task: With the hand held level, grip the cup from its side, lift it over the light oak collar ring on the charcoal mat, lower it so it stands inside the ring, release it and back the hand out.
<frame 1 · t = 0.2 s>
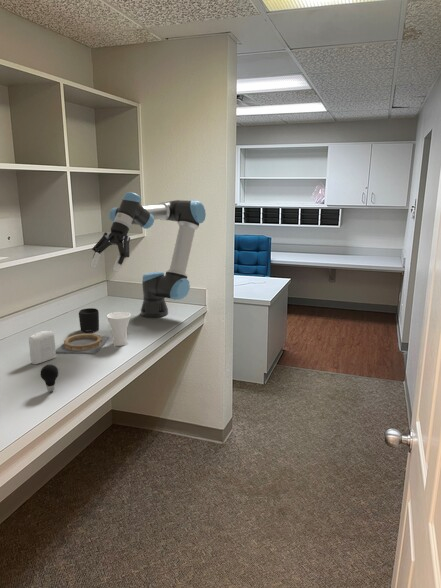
hand: (103, 268, 193), 35 cm above the table, tool tilted 35°, fingers open, 13 cm apart
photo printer: (43, 360, 183), on the table
collar mat: (83, 345, 200), on the table
collar ring: (83, 341, 200), on the collar mat, point 1 cm above the table
light bulb: (51, 392, 156), on the table
cup: (120, 344, 202), on the table
pen holder: (90, 330, 220), on the table
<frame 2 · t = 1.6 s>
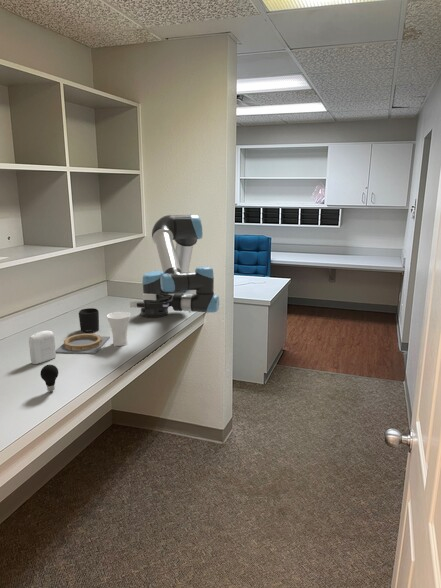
hand: (136, 300, 195), 21 cm above the table, tool horizontal, fingers open, 13 cm apart
nothing on the table moved.
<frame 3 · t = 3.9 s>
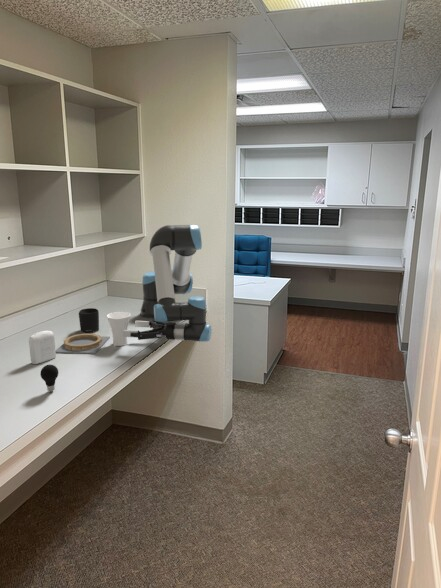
hand: (129, 328, 199), 8 cm above the table, tool horizontal, fingers open, 13 cm apart
nothing on the table moved.
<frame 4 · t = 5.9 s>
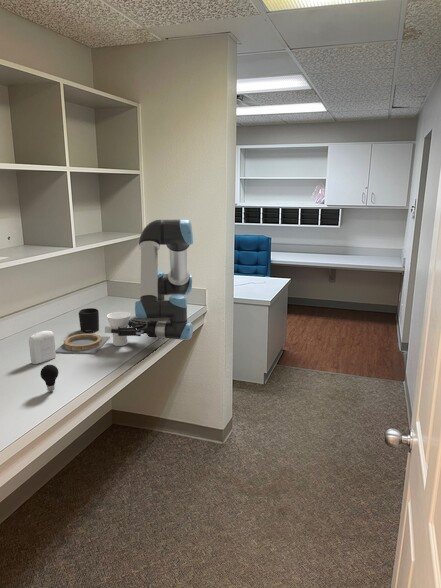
hand: (109, 326, 201), 8 cm above the table, tool horizontal, fingers closed on cup, 9 cm apart
cup: (120, 344, 202), on the table, touching gripper
everything else where it was.
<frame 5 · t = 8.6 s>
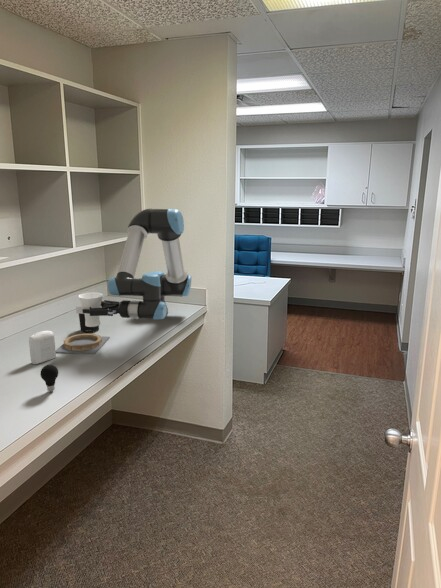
hand: (81, 306, 196), 18 cm above the table, tool horizontal, fingers closed on cup, 9 cm apart
cup: (92, 325, 197), point 10 cm above the table, touching gripper
everything else where it was.
when the fingers open (10 cm above the table, at t = 11.4 s): cup drops 1 cm, resting on collar mat.
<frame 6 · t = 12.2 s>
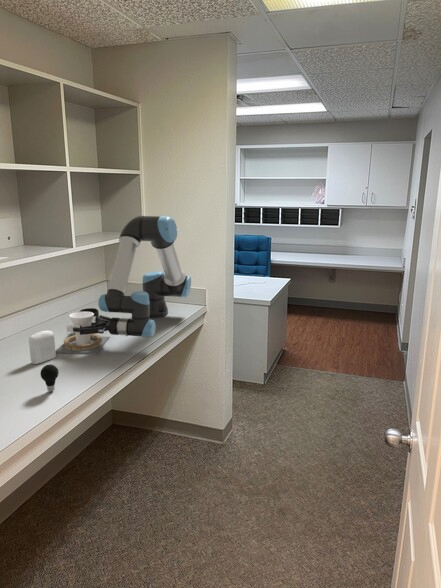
hand: (74, 323, 198), 10 cm above the table, tool horizontal, fingers open, 13 cm apart
cup: (83, 344, 200), resting on collar mat
everything else where it was.
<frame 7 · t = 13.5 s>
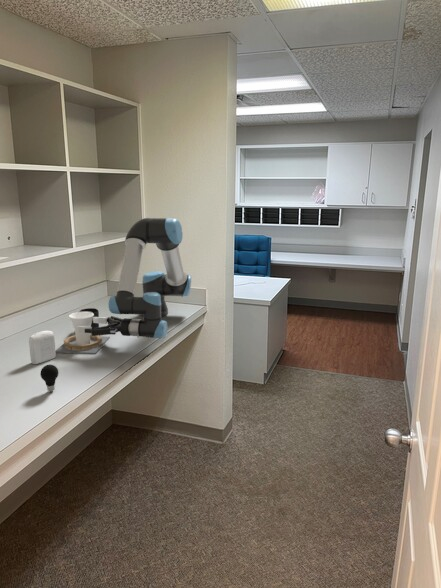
hand: (86, 324, 197), 10 cm above the table, tool horizontal, fingers open, 13 cm apart
nothing on the table moved.
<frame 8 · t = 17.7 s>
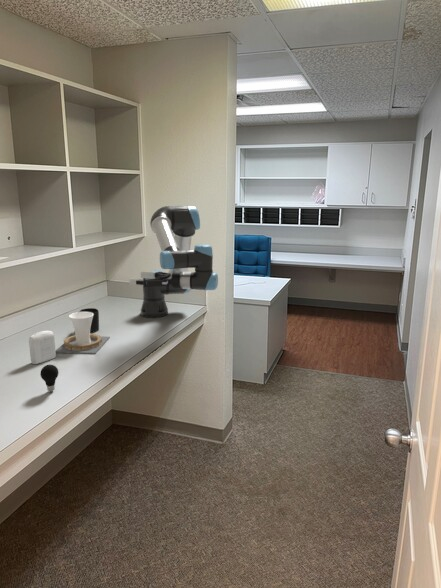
hand: (135, 278, 196), 30 cm above the table, tool horizontal, fingers open, 13 cm apart
nothing on the table moved.
at the end: cup 0.1 cm off-centre on the collar ring, point 0.4 cm above the collar ring's base; cup tilted 0°; the gripper is holding nothing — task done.
